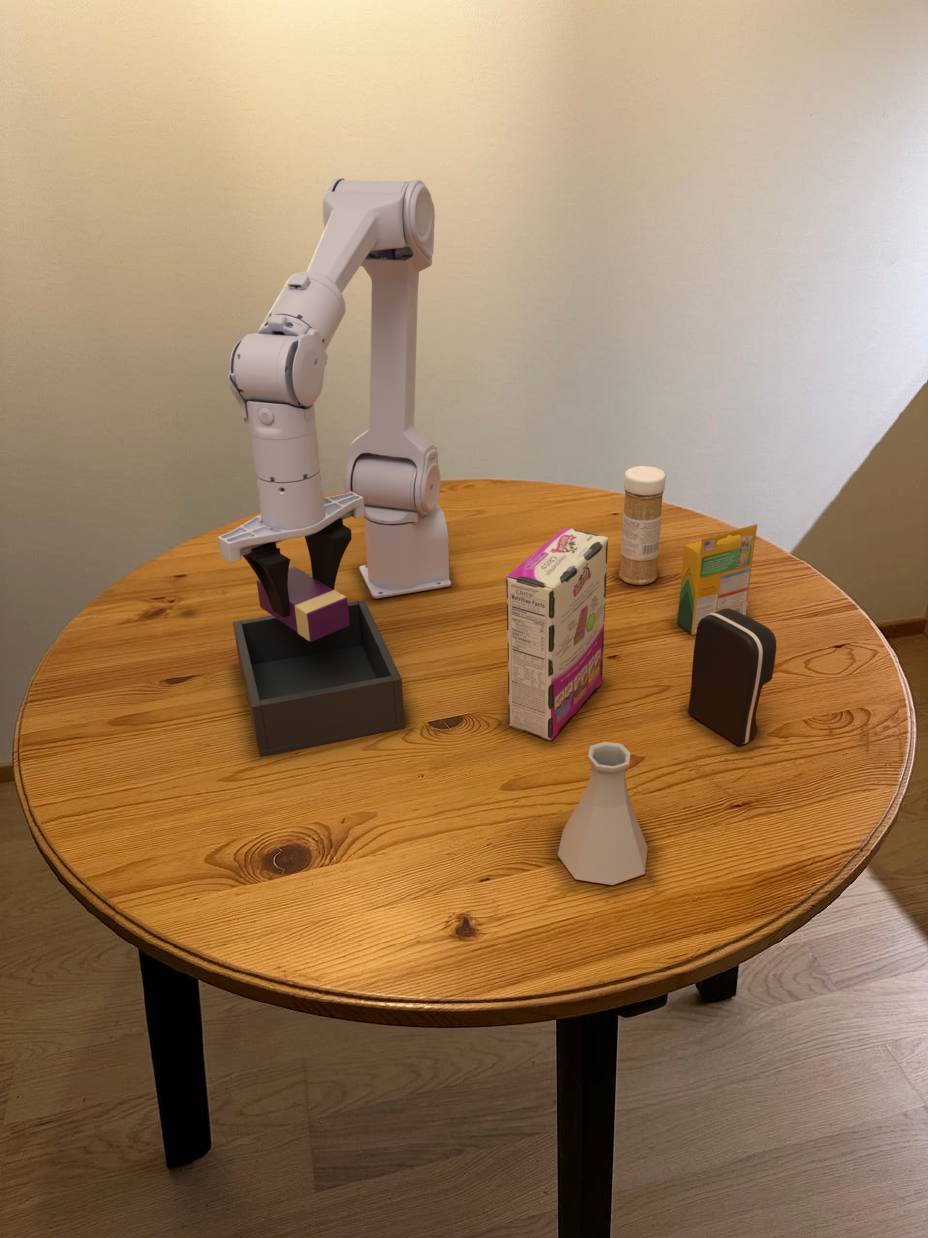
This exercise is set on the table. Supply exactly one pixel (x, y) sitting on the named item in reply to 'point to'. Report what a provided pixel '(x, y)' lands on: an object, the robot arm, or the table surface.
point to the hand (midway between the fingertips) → (303, 603)
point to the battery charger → (730, 672)
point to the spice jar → (641, 524)
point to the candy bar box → (555, 631)
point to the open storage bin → (317, 682)
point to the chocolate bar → (310, 606)
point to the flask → (604, 823)
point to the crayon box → (715, 576)
